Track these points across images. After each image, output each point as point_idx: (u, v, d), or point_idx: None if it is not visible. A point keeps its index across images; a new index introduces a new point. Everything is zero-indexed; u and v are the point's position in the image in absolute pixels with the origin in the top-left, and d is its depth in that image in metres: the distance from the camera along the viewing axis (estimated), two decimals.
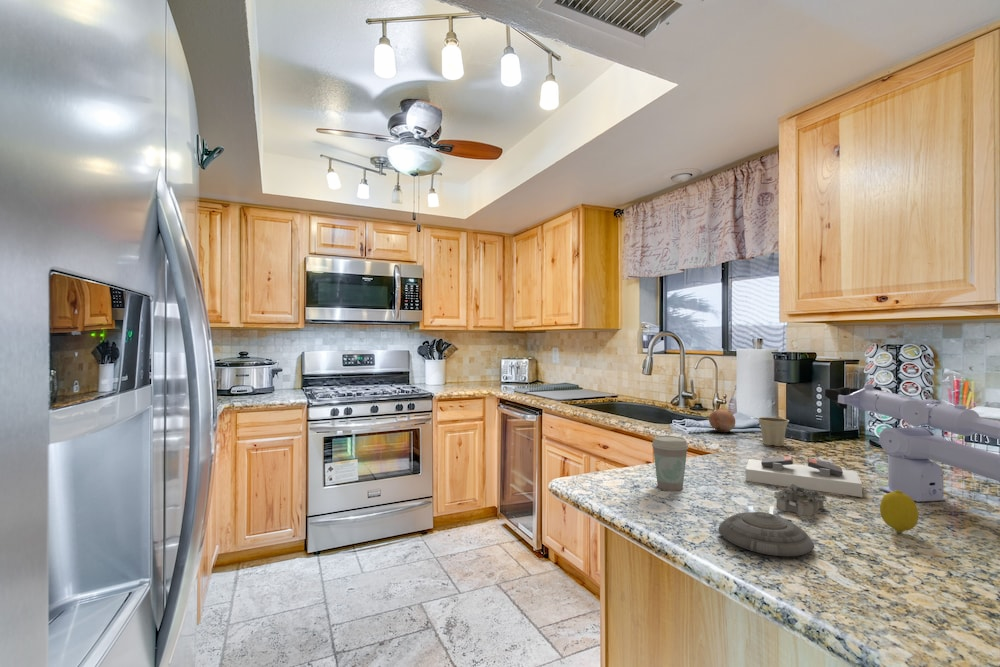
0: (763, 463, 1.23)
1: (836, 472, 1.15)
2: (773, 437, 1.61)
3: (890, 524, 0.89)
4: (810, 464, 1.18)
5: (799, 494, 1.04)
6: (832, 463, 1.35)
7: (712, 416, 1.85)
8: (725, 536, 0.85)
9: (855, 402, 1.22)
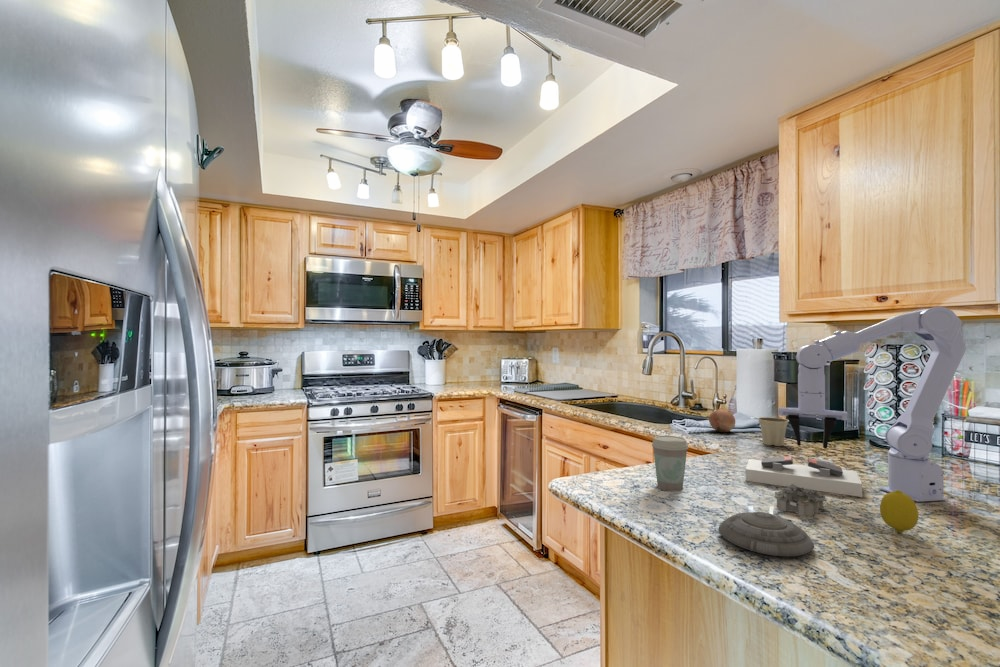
0: (763, 463, 1.23)
1: (836, 472, 1.15)
2: (773, 437, 1.61)
3: (890, 524, 0.89)
4: (810, 464, 1.18)
5: (799, 494, 1.04)
6: (832, 463, 1.35)
7: (712, 416, 1.85)
8: (725, 536, 0.85)
9: (827, 412, 1.19)
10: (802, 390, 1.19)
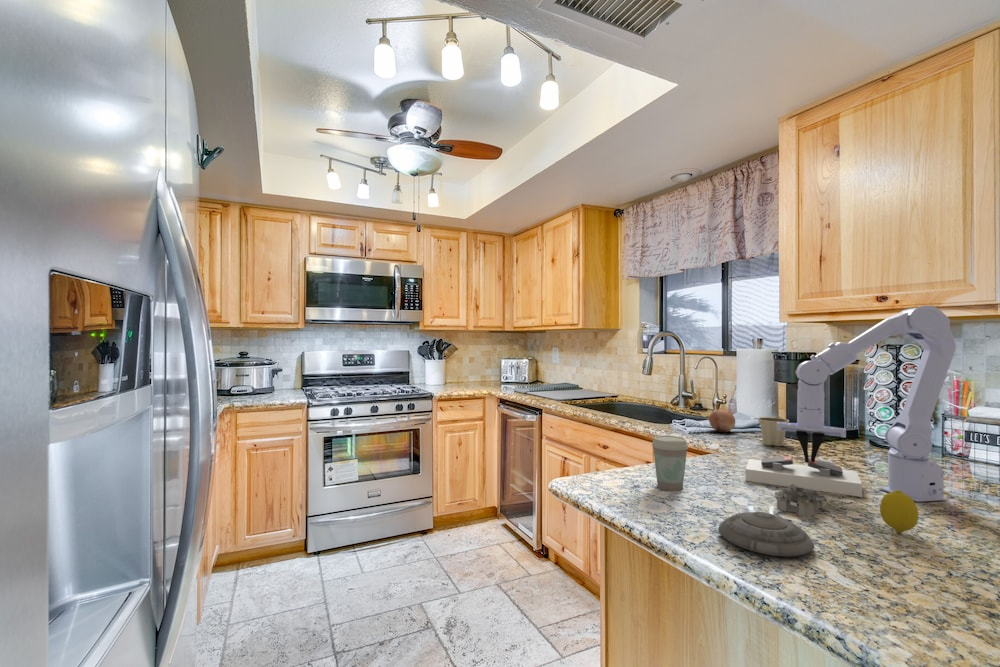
0: (763, 463, 1.23)
1: (836, 472, 1.15)
2: (773, 437, 1.61)
3: (890, 524, 0.89)
4: (810, 464, 1.18)
5: (799, 494, 1.04)
6: (832, 463, 1.35)
7: (712, 416, 1.85)
8: (725, 536, 0.85)
9: None
10: (801, 406, 1.19)
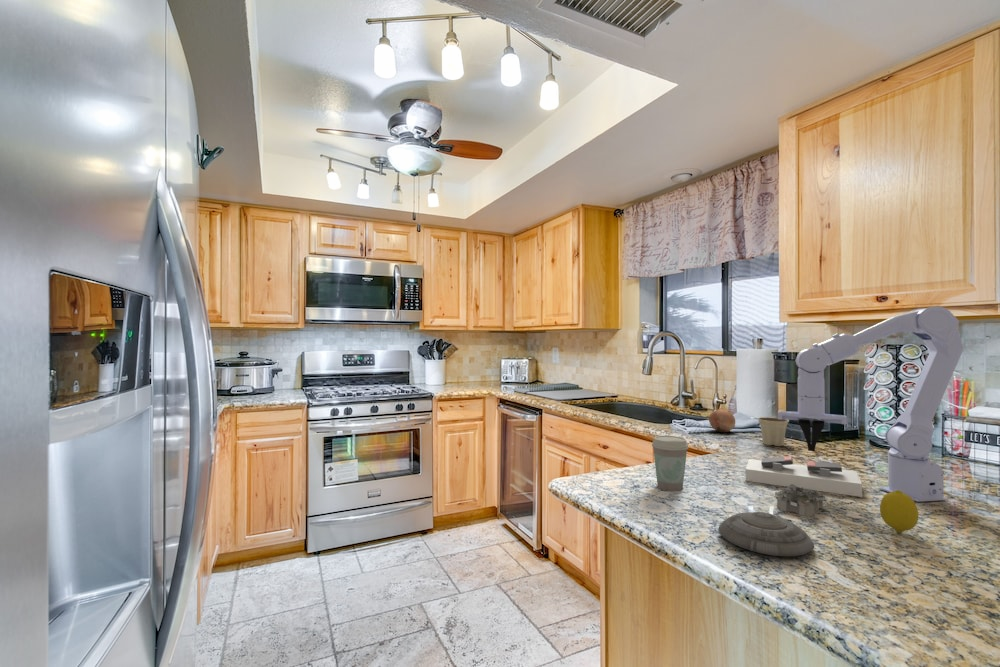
0: (763, 463, 1.23)
1: (835, 469, 1.15)
2: (773, 437, 1.61)
3: (890, 524, 0.89)
4: (809, 468, 1.18)
5: (799, 494, 1.04)
6: None
7: (712, 416, 1.85)
8: (725, 536, 0.85)
9: (827, 416, 1.19)
10: (802, 394, 1.19)
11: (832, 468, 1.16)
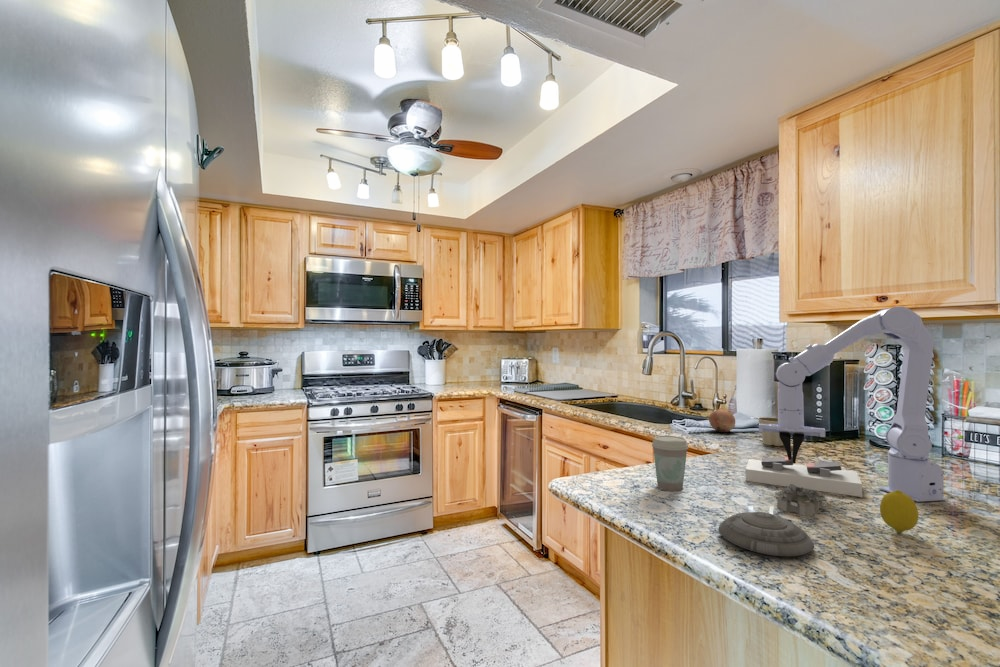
0: (763, 462, 1.23)
1: (835, 468, 1.15)
2: (773, 437, 1.61)
3: (890, 524, 0.89)
4: (809, 469, 1.18)
5: (799, 494, 1.04)
6: None
7: (712, 416, 1.85)
8: (725, 536, 0.85)
9: (806, 428, 1.21)
10: (781, 407, 1.22)
11: (831, 467, 1.16)
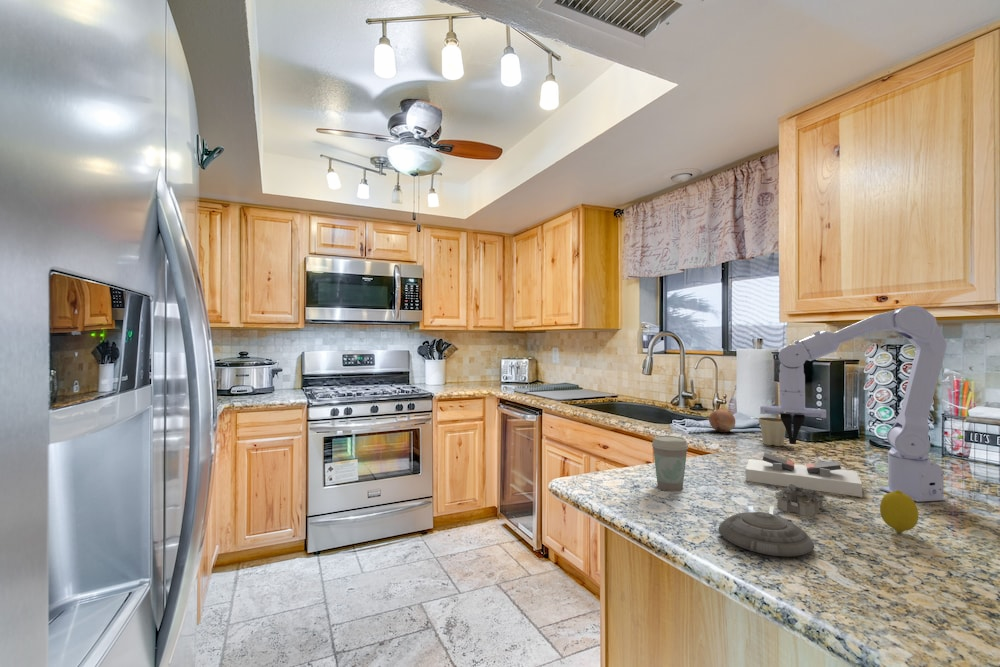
0: (765, 458, 1.23)
1: (834, 467, 1.15)
2: (773, 437, 1.61)
3: (890, 524, 0.89)
4: (809, 470, 1.18)
5: (799, 494, 1.04)
6: None
7: (712, 416, 1.85)
8: (725, 536, 0.85)
9: (807, 410, 1.22)
10: (782, 389, 1.23)
11: (831, 467, 1.16)
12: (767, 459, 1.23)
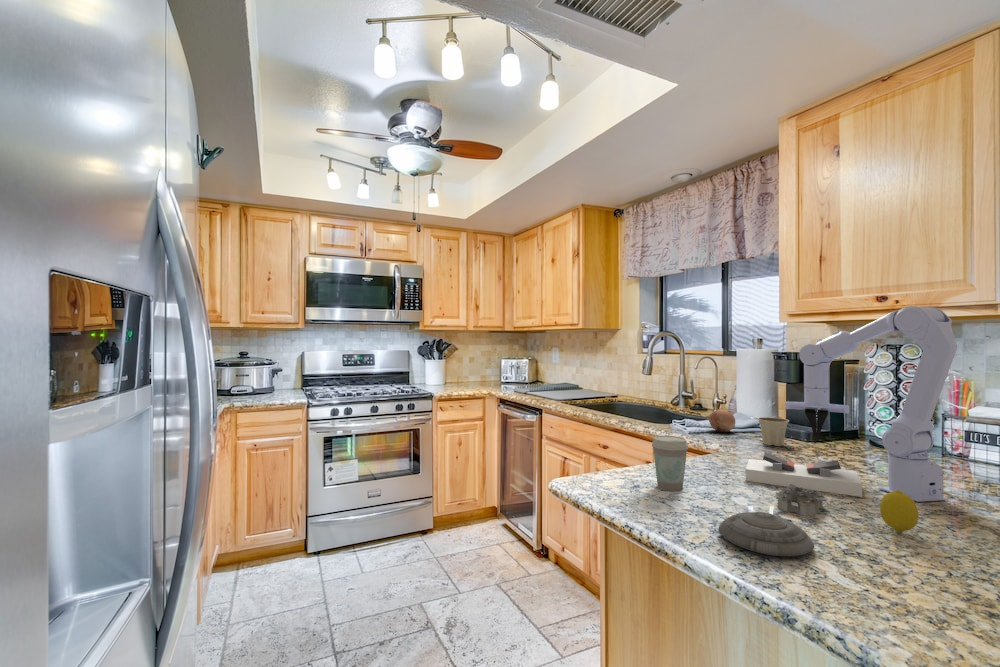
0: (765, 457, 1.23)
1: (834, 467, 1.15)
2: (773, 437, 1.61)
3: (890, 524, 0.89)
4: (809, 470, 1.18)
5: (799, 494, 1.04)
6: None
7: (712, 416, 1.85)
8: (725, 536, 0.85)
9: (831, 406, 1.30)
10: (804, 385, 1.32)
11: (831, 467, 1.16)
12: (767, 458, 1.23)
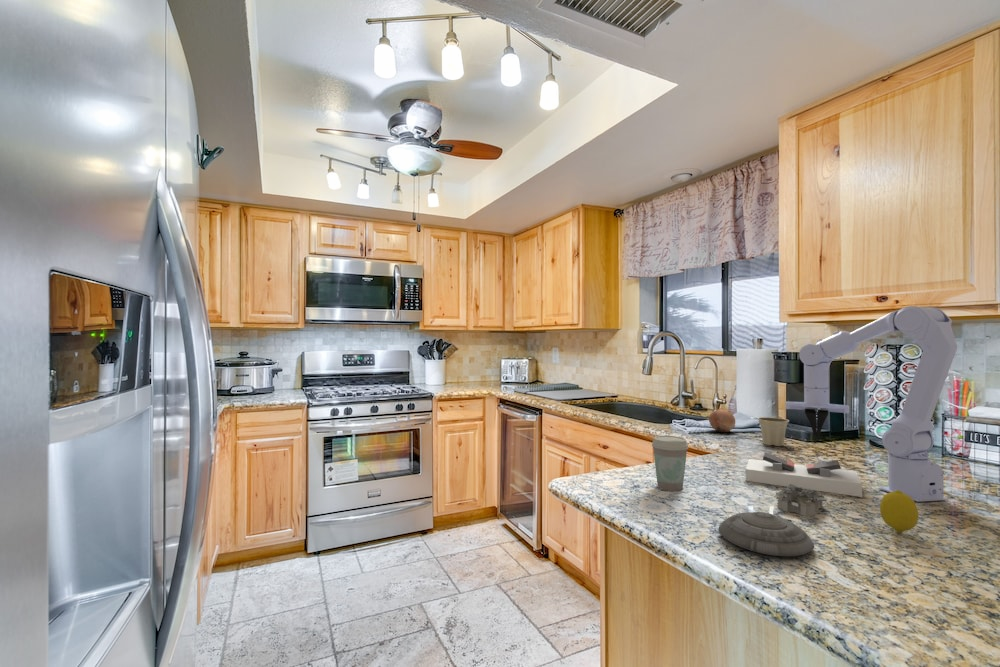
0: (765, 457, 1.23)
1: (834, 467, 1.15)
2: (773, 437, 1.61)
3: (890, 524, 0.89)
4: (809, 470, 1.18)
5: (799, 494, 1.04)
6: None
7: (712, 416, 1.85)
8: (725, 536, 0.85)
9: (831, 406, 1.30)
10: (804, 385, 1.32)
11: (831, 467, 1.16)
12: (767, 459, 1.23)
